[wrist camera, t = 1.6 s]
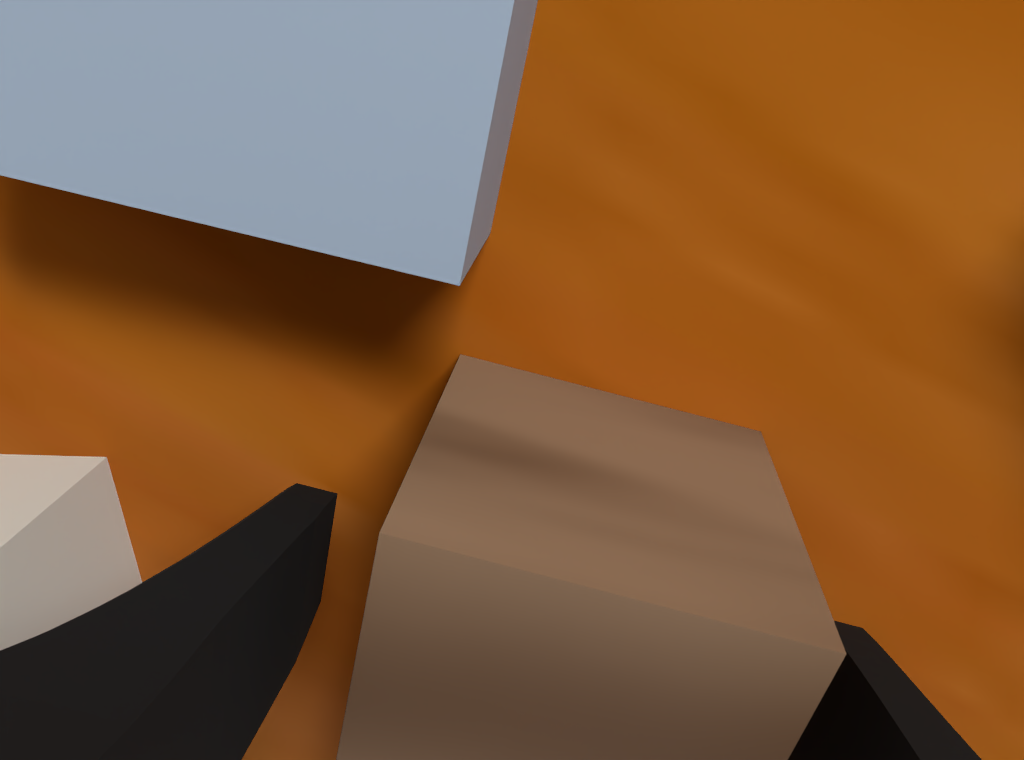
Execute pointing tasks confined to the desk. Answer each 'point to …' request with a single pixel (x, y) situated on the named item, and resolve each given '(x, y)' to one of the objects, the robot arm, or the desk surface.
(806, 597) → the walnut cube
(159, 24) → the blue slab
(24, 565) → the cream cube
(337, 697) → the desk surface
